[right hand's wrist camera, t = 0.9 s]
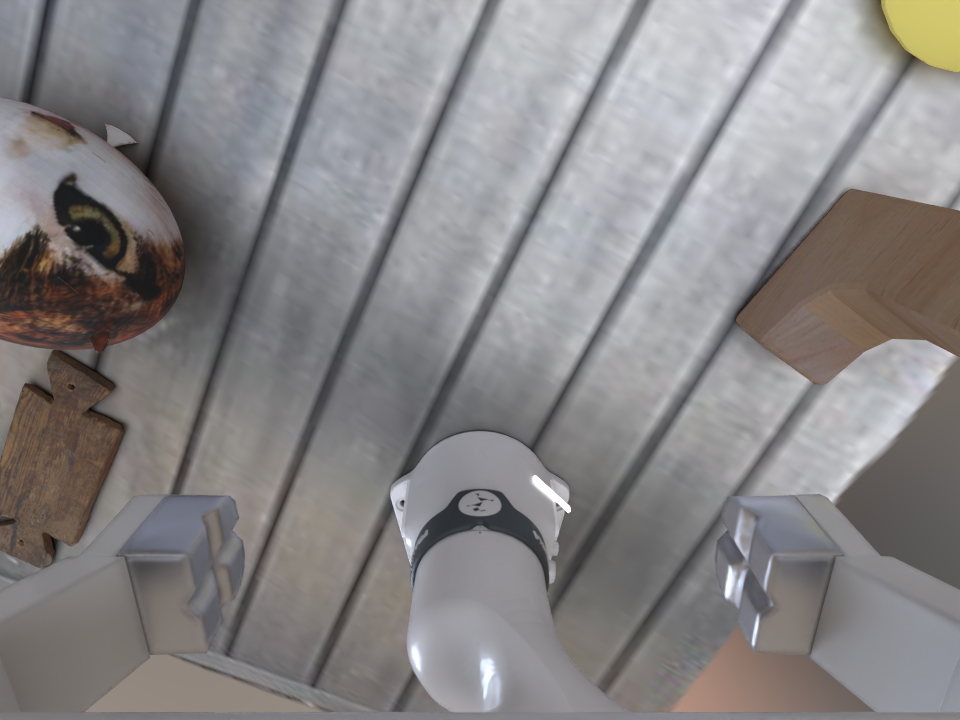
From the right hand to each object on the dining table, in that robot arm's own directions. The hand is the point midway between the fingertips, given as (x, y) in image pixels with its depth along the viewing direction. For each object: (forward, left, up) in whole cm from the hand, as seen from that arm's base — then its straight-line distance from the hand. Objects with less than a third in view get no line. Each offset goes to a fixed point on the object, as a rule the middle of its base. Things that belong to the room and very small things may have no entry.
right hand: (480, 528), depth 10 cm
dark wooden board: (-28, +44, -48) cm, 71 cm away
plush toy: (-2, +34, -48) cm, 59 cm away
